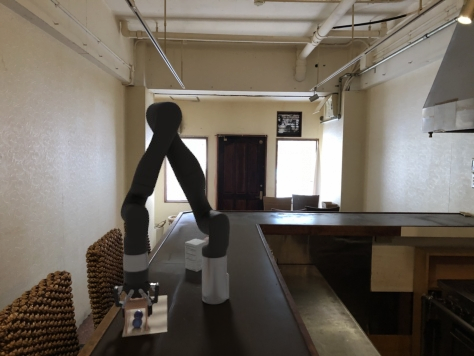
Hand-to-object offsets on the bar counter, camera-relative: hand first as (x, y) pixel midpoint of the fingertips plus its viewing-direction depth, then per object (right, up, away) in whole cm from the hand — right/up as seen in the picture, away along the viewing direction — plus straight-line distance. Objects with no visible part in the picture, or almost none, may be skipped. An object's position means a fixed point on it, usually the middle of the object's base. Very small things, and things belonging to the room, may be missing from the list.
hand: (137, 316), depth 102 cm
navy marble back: (0, 0, +2) cm, 2 cm away
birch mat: (+1, -3, +6) cm, 7 cm away
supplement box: (+12, +2, +48) cm, 50 cm away
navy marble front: (+1, -1, -2) cm, 2 cm away
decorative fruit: (+18, +4, +68) cm, 71 cm away
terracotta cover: (0, -2, 0) cm, 2 cm away
